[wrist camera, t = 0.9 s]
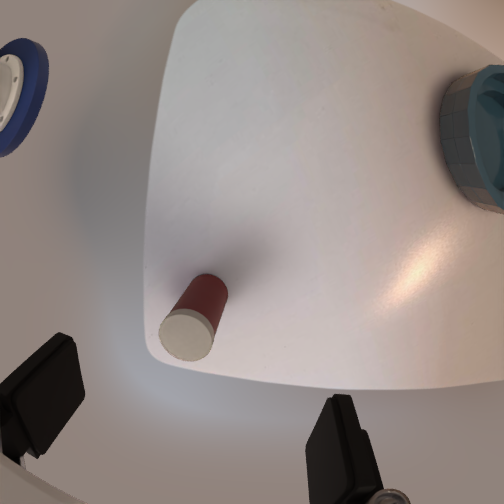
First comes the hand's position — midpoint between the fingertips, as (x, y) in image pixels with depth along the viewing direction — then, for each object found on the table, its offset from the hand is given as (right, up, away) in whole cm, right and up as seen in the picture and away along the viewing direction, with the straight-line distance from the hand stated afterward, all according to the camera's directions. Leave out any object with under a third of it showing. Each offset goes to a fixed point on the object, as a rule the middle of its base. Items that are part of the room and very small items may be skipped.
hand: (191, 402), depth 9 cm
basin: (+28, +17, +14) cm, 36 cm away
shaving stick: (-2, +1, +20) cm, 20 cm away
